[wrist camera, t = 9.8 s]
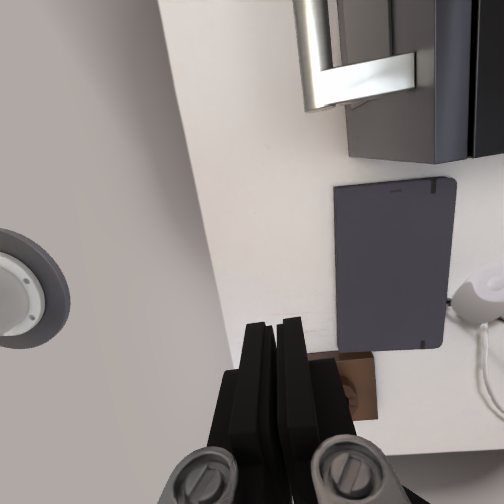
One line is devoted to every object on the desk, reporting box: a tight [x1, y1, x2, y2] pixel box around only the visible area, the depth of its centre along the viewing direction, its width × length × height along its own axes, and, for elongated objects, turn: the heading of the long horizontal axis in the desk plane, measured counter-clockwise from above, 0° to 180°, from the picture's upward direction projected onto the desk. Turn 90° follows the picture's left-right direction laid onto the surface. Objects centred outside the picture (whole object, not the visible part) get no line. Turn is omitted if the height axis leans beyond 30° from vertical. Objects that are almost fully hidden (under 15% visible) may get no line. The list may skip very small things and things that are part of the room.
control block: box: [307, 351, 378, 421], centre depth 43 cm, size 12×10×4 cm
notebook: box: [333, 177, 457, 353], centre depth 38 cm, size 13×2×21 cm
